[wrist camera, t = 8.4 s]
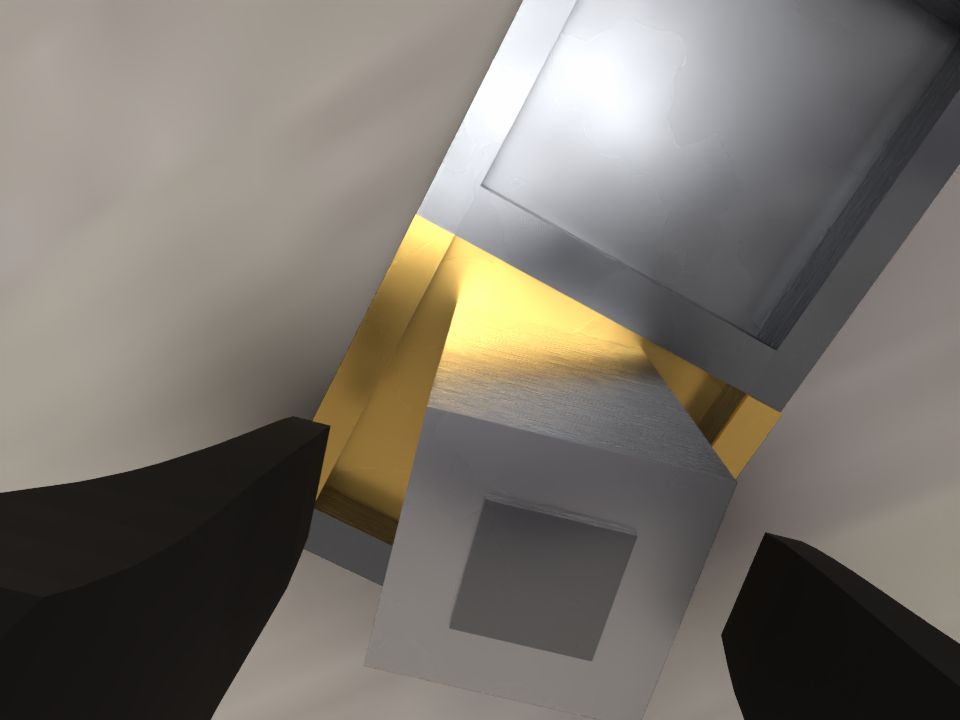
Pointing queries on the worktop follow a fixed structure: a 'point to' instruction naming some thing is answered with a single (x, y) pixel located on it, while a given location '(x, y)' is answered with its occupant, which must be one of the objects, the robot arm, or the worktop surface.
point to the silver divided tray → (654, 215)
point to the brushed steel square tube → (548, 522)
